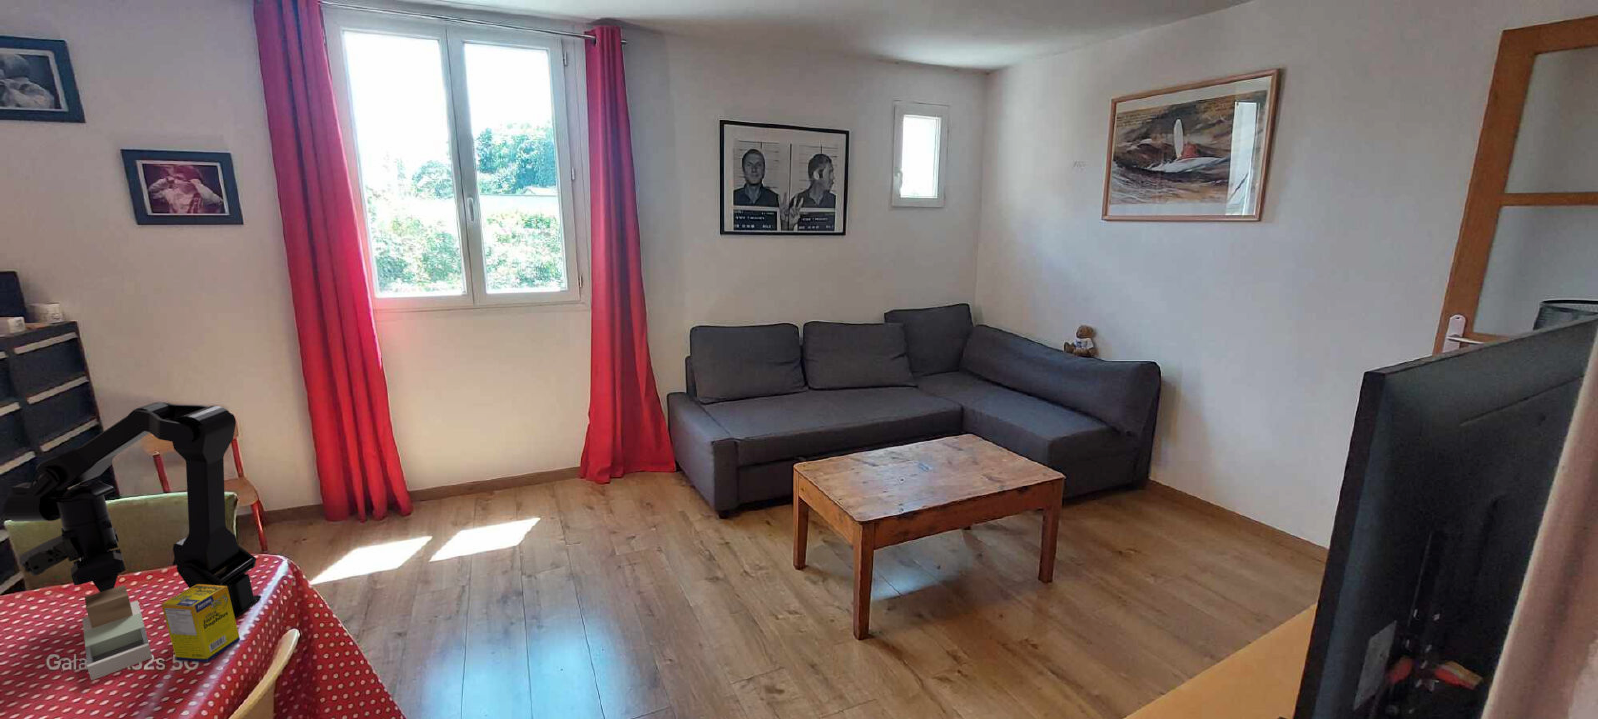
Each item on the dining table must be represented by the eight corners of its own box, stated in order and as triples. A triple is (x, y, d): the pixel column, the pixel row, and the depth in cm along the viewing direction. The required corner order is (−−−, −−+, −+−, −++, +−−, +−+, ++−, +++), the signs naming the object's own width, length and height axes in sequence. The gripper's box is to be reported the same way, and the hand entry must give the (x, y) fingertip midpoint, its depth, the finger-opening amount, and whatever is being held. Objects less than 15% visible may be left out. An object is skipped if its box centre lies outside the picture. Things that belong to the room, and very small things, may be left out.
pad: (87, 644, 111) (83, 631, 110) (144, 624, 116) (140, 612, 115) (89, 659, 107) (85, 646, 106) (147, 638, 112) (144, 626, 111)
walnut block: (90, 616, 114) (84, 596, 113) (130, 603, 118) (125, 584, 117) (92, 628, 111) (86, 608, 110) (132, 614, 114) (127, 595, 114)
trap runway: (84, 622, 116) (81, 610, 116) (139, 604, 122) (135, 592, 121) (91, 680, 102) (87, 667, 102) (152, 657, 107) (148, 644, 107)
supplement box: (241, 640, 112) (228, 584, 109) (207, 663, 106) (192, 606, 103) (210, 637, 112) (197, 582, 110) (175, 661, 107) (160, 603, 104)
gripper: (17, 518, 115) (41, 594, 118) (14, 554, 103) (41, 638, 107) (107, 497, 123) (127, 569, 127) (114, 529, 111) (136, 607, 115)
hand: (107, 595), depth 118 cm, fingers closed
